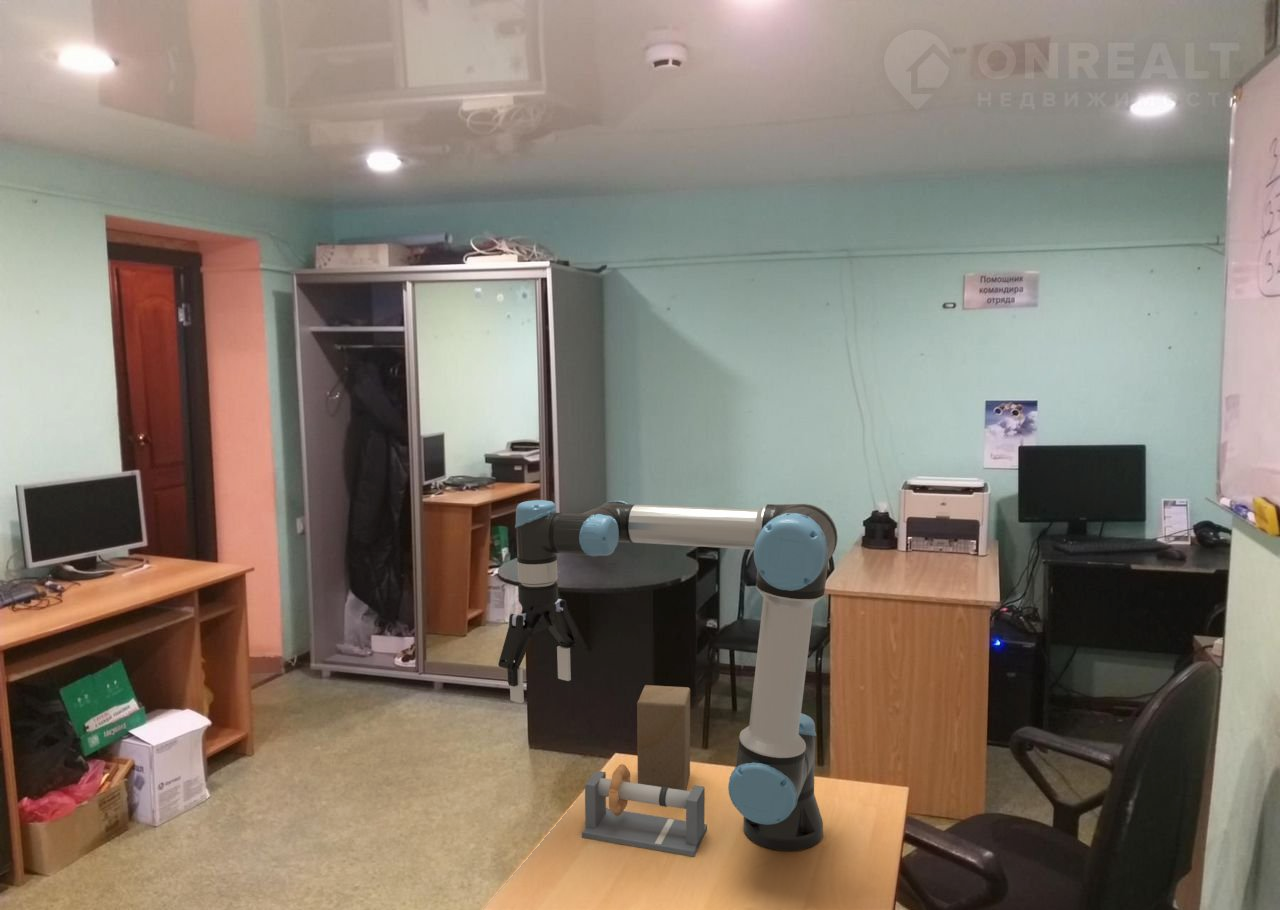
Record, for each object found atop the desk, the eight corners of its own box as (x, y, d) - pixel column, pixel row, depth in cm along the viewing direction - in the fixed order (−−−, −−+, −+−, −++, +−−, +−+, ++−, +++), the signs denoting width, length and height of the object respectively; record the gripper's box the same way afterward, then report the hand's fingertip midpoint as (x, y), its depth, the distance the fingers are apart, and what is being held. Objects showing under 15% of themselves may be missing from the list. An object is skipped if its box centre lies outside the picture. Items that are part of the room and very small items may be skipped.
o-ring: (631, 801, 177) (631, 758, 176) (616, 823, 168) (616, 778, 167) (623, 800, 177) (622, 757, 176) (607, 822, 169) (607, 777, 168)
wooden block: (637, 793, 187) (636, 701, 185) (644, 771, 197) (644, 684, 195) (684, 797, 186) (684, 704, 183) (690, 775, 195) (690, 686, 193)
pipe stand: (706, 829, 173) (707, 781, 172) (693, 856, 164) (693, 806, 162) (600, 811, 180) (599, 765, 179) (581, 837, 170) (581, 788, 169)
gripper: (565, 566, 183) (568, 667, 185) (476, 594, 163) (480, 707, 165) (594, 571, 178) (596, 674, 181) (506, 599, 158) (510, 715, 160)
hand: (541, 690), depth 173 cm, fingers open, 13 cm apart
